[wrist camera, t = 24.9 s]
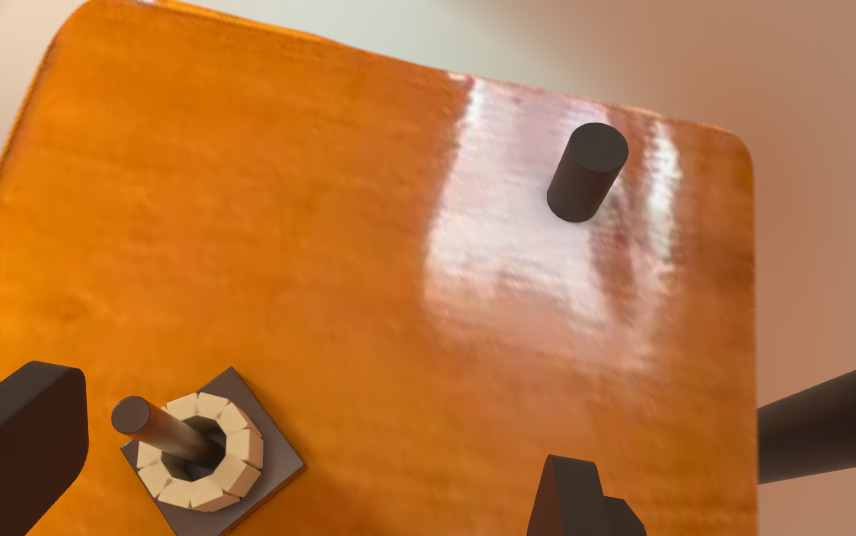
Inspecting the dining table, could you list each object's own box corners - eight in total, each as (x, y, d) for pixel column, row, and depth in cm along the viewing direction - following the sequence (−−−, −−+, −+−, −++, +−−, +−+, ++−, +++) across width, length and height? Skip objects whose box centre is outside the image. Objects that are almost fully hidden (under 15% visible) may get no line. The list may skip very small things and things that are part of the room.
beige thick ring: (227, 387, 40) (210, 371, 37) (284, 465, 39) (272, 456, 35) (142, 450, 39) (115, 439, 35) (198, 534, 37) (176, 532, 33)
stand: (236, 371, 42) (163, 289, 29) (308, 467, 40) (264, 426, 27) (128, 451, 40) (-5, 402, 27) (198, 558, 38) (90, 562, 24)
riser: (572, 168, 50) (597, 112, 44) (609, 202, 49) (641, 150, 42) (535, 196, 49) (556, 142, 42) (573, 232, 48) (600, 183, 41)
